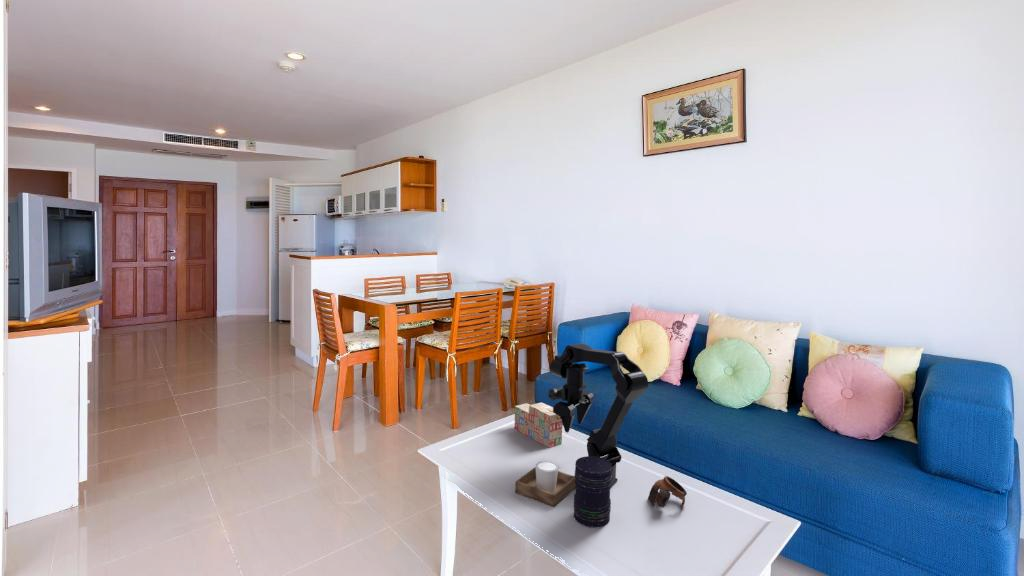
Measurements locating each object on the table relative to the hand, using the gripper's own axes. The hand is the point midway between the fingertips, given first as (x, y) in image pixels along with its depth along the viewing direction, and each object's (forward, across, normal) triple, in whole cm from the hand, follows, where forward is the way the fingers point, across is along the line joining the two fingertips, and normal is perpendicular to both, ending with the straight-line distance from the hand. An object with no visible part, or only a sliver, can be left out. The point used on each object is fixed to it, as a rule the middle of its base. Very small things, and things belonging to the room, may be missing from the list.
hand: (573, 427), depth 164 cm
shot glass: (+12, +21, +2) cm, 24 cm away
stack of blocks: (+12, -12, -21) cm, 27 cm away
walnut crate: (+12, +21, +2) cm, 24 cm away
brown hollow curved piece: (+12, +8, +33) cm, 36 cm away
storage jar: (+12, +26, +19) cm, 34 cm away
